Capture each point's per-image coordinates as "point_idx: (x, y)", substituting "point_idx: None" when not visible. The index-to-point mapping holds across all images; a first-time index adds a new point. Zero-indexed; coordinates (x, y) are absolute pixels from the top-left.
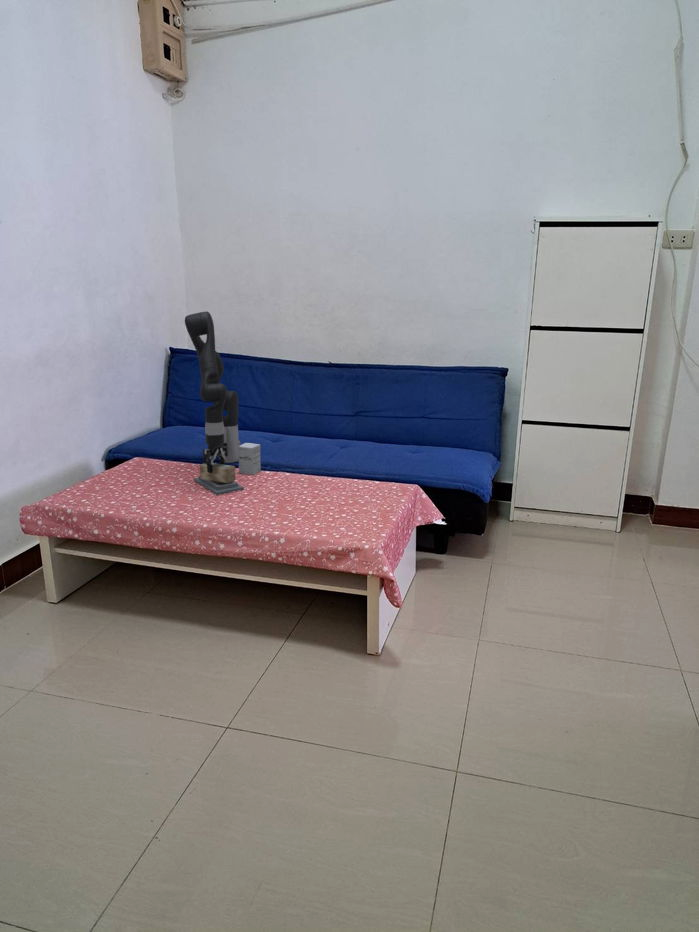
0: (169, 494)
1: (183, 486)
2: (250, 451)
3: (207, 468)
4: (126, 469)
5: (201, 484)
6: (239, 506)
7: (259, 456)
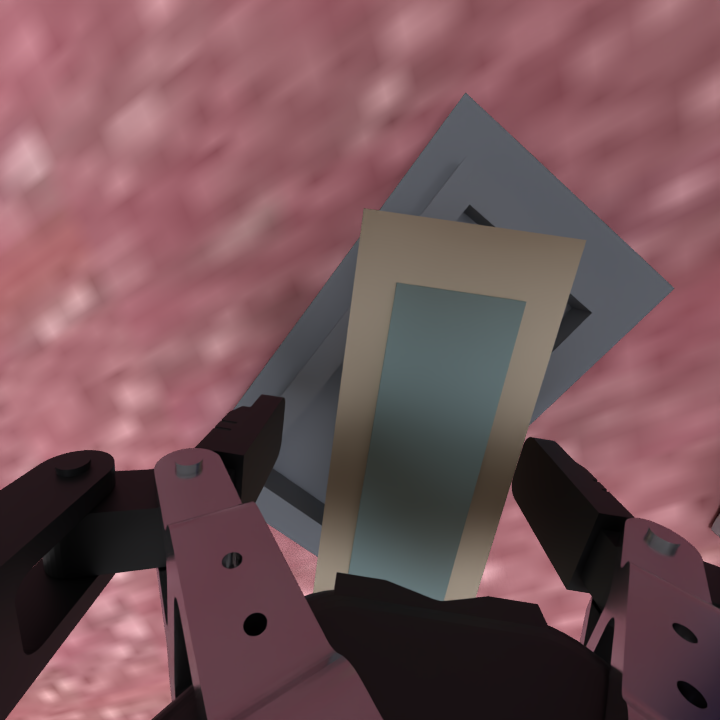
0: (46, 82)
1: (284, 87)
2: None
3: (216, 431)
4: None
5: (347, 256)
6: (104, 624)
7: None
